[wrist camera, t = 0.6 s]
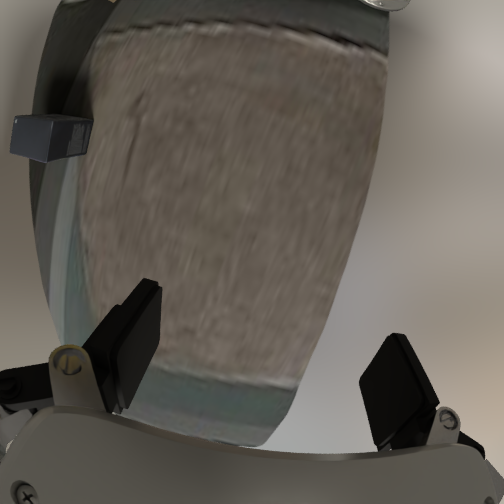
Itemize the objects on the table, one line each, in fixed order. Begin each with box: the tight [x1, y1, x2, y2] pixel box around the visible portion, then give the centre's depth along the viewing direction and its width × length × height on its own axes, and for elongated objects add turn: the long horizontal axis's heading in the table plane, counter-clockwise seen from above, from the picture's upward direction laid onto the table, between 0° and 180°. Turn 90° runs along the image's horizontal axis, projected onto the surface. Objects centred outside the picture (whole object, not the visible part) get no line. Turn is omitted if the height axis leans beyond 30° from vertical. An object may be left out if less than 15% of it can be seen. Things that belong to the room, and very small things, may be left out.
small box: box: [10, 114, 94, 163], centre depth 30 cm, size 11×6×10 cm, turn 71°
